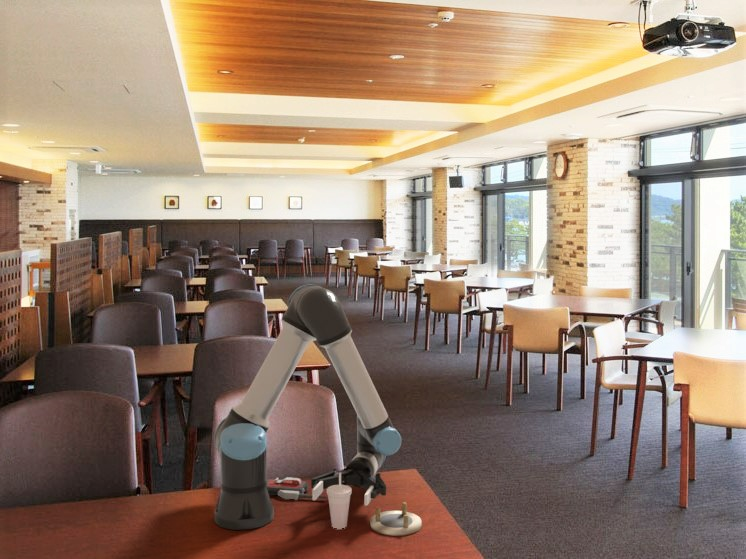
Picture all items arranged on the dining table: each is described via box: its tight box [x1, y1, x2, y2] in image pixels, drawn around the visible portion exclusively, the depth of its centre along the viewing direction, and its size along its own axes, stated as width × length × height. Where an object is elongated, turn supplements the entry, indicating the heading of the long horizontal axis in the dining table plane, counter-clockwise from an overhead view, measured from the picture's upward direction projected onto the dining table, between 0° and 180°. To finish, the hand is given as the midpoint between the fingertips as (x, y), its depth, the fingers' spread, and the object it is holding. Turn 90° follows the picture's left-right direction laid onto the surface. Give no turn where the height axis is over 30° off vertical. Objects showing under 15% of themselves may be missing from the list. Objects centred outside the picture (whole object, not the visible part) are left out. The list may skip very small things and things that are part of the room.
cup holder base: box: [369, 502, 423, 537], centre depth 181 cm, size 13×13×4 cm
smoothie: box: [326, 471, 353, 530], centre depth 179 cm, size 6×6×14 cm
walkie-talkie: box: [267, 476, 327, 501], centre depth 202 cm, size 9×4×20 cm
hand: (339, 497), depth 178 cm, fingers open, 13 cm apart
